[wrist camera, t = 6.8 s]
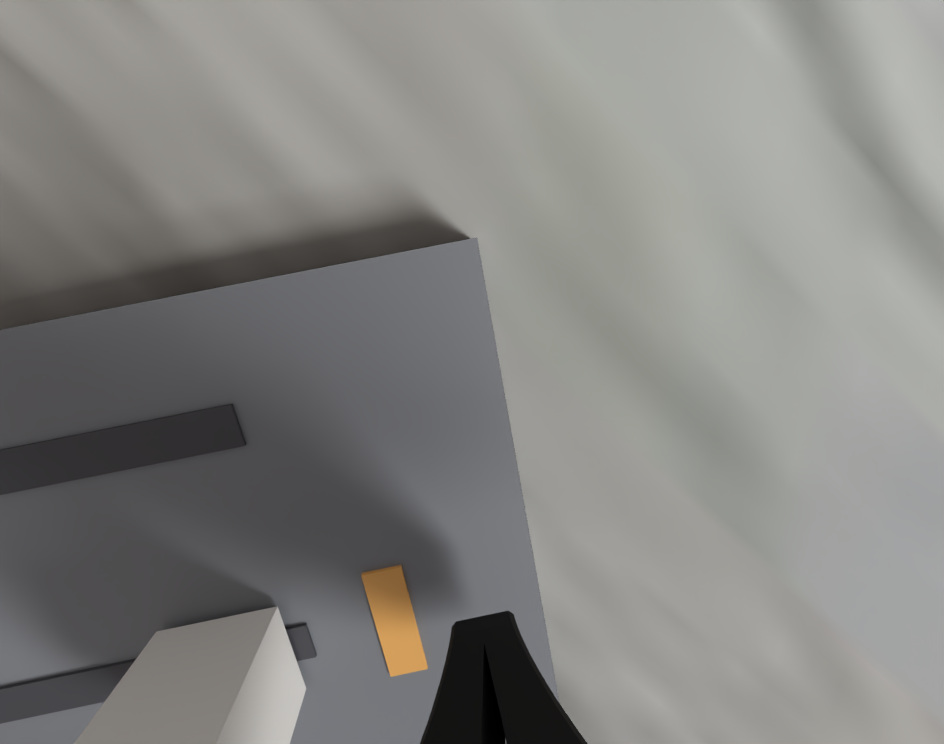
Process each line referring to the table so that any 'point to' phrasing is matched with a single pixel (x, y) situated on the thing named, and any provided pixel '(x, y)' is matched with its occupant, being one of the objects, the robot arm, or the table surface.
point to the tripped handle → (207, 687)
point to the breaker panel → (263, 489)
